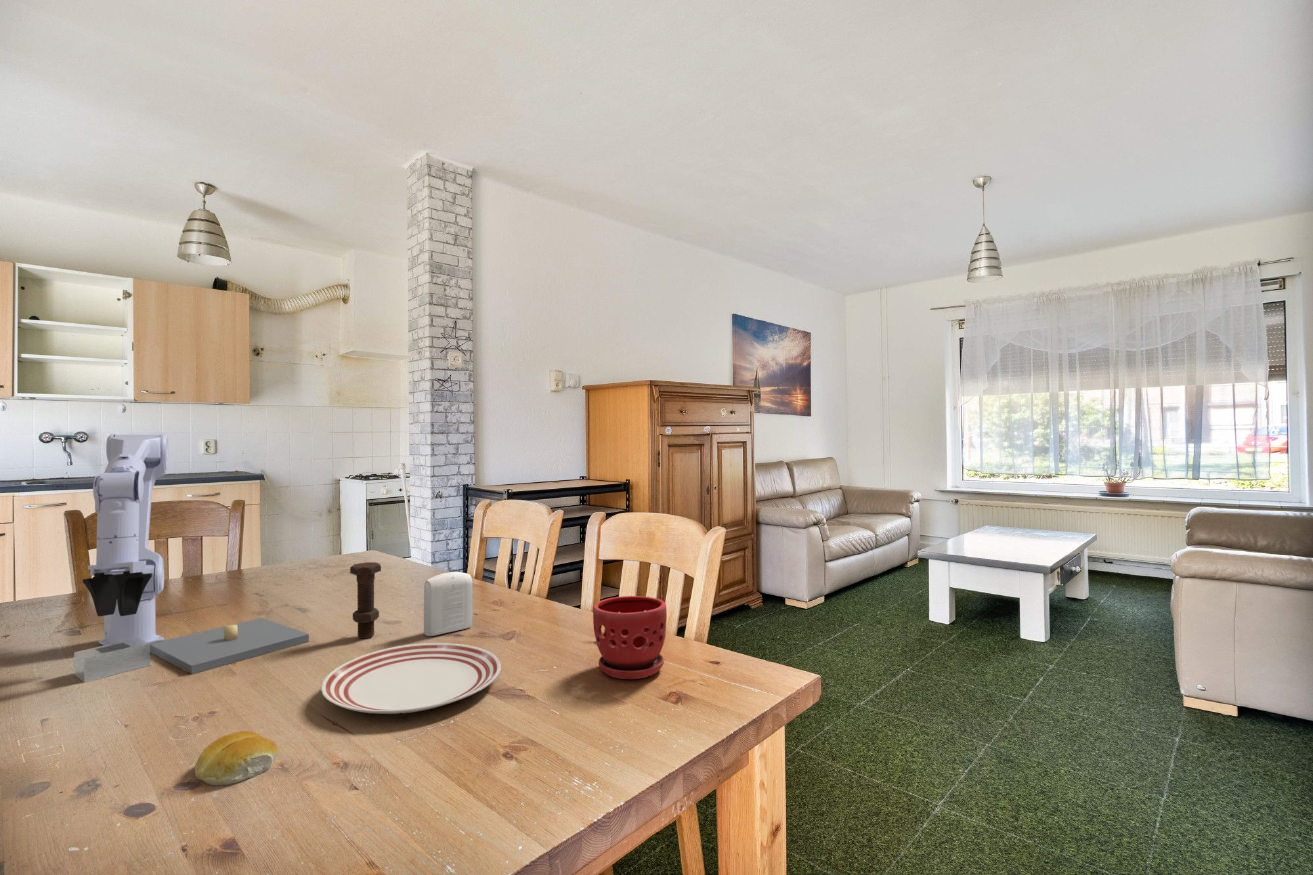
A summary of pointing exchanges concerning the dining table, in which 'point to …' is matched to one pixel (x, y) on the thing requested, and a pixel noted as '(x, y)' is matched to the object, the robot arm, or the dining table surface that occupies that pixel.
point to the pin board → (227, 644)
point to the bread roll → (235, 758)
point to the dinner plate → (410, 678)
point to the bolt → (365, 598)
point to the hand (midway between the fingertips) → (116, 615)
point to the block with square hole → (111, 659)
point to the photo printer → (447, 603)
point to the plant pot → (630, 635)
